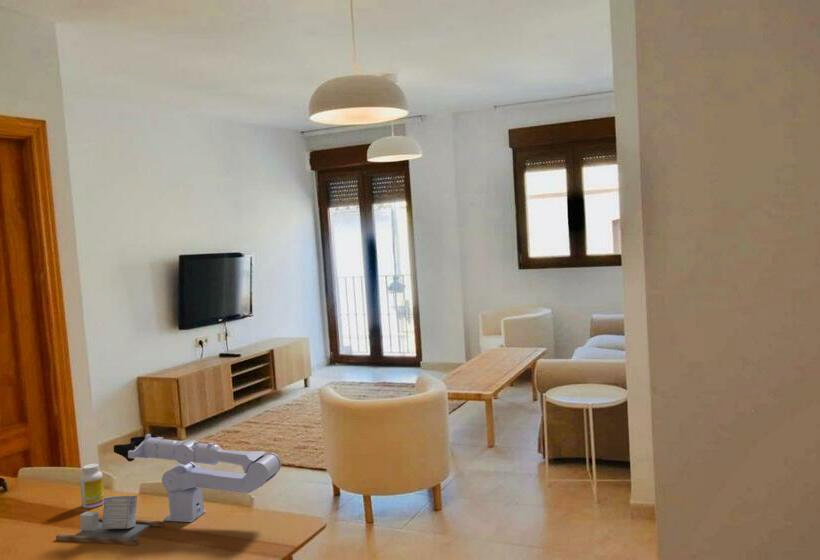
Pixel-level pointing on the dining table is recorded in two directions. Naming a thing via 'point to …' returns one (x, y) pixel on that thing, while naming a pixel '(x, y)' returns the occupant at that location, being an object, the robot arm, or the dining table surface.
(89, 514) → the grey tray plate
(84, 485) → the supplement bottle
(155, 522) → the walnut guide rails
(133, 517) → the medicine box
